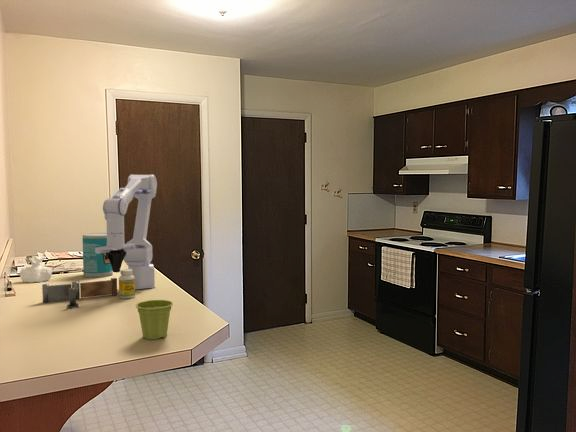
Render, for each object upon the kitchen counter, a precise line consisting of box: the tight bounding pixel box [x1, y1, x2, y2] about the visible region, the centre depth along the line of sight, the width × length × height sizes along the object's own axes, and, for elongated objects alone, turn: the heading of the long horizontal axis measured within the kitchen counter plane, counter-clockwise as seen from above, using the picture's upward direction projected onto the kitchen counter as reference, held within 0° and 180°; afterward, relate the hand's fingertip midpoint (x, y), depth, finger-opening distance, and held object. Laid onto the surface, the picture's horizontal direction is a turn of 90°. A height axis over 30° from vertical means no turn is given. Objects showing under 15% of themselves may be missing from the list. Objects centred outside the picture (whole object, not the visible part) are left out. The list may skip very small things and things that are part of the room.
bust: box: [19, 255, 53, 284], centre depth 197 cm, size 12×8×11 cm
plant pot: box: [135, 299, 174, 340], centre depth 125 cm, size 9×9×9 cm
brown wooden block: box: [79, 277, 118, 299], centre depth 169 cm, size 12×2×6 cm, turn 119°
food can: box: [82, 232, 114, 279], centre depth 209 cm, size 12×12×18 cm
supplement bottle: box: [118, 268, 136, 299], centre depth 169 cm, size 5×5×10 cm
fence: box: [41, 280, 81, 304], centre depth 164 cm, size 12×2×6 cm, turn 119°
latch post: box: [66, 288, 80, 310], centre depth 155 cm, size 3×3×6 cm
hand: (116, 272), depth 166 cm, fingers closed
